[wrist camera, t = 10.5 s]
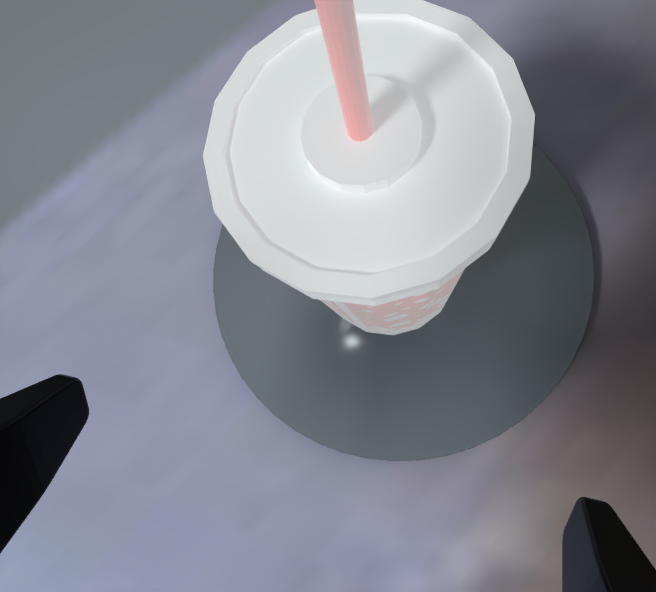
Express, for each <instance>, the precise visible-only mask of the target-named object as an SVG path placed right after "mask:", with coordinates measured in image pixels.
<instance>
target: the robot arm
mask: <svg viewBox="0 0 656 592" xmlns="http://www.w3.org/2000/svg"><path fill="white" fill-rule="evenodd" d="M88 415H89V407H88V403H87V399H86V396H85V392H84V388H83V384H82V382H81V381H80V380H79V379H78V378H75V377H71V376H67V375H62V374H59V375H55V376H52V377H50V378H48V379H45V380H43V381H41V382H38V383H36V384H34V385H31V386H29V387H27V388H24V389H22V390H20V391H17V392H15V393H13V394H10V395H8V396H6V397H3V398H1V399H0V553H1V552H2V550H3V549H4V548H5V546H6V545H7V544H8V542H9V541H10V539H11V538H12V537H13V535H14V534H15V533H16V531H17V530H18V528H19V527H20V526H21V524H22V523H23V522H24V520H25V519H26V517H27V516H28V515H29V513H30V512H31V510H32V509H33V508H34V506H35V505H36V504H37V502H38V501H39V499H40V498H41V496H42V495H43V494H44V492H45V491H46V489H47V487H48V486H49V484H50V483H51V481H52V479H53V478H54V476H55V474H56V473H57V471H58V469H59V468H60V466H61V464H62V462H63V461H64V459H65V457H66V456H67V454H68V452H69V451H70V449H71V447H72V446H73V444H74V442H75V440H76V439H77V437H78V435H79V434H80V432H81V430H82V429H83V427H84V425H85V423H86V421H87V419H88ZM562 592H656V570H655V568H654V567H653V565H652V564H651V563H650V561H649V560H648V558H647V557H646V555H645V554H644V553H643V551H642V550H641V548H640V547H639V545H638V544H637V543H636V541H635V540H634V538H633V537H632V536H631V534H630V533H629V531H628V530H627V528H626V527H625V526H624V524H623V523H622V521H621V520H620V518H619V517H618V516H617V514H616V513H615V511H614V510H613V508H612V507H611V506H610V505H609V504H608V503H606V502H603V501H599V500H595V499H591V498H587V497H581V498H579V499H578V500H577V502H576V504H575V506H574V508H573V510H572V513H571V515H570V517H569V519H568V522H567V524H566V526H565V529H564V533H563V542H562Z"/></svg>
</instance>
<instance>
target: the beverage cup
mask: <svg viewBox="0 0 656 592" xmlns="http://www.w3.org/2000/svg"><path fill="white" fill-rule="evenodd" d="M315 5H316V9H314V10H311V11H308V12H305V13H302V14H299V15H296V16H294V17H293V18H291V19H290V20H289V21H287V22H286V23H285V24H283V25H282V26H281V27H279V28H278V29H277V30H275V31H274V32H273V33H272V34H270V35H269V36H268V37H266V38H265V39H264V40H262V41H261V42H260V43H258V44H257V45H256V46H254V47H253V48H252V49H250V50H249V51H248V52H247V53H246V54H245V56H244V57H243V59H242V60H241V62H240V63H239V65H238V66H237V68H236V69H235V71H234V73H233V74H232V76H231V77H230V79H229V80H228V82H227V83H226V85H225V86H224V88H223V89H222V91H221V92H220V94H219V95H218V97H217V98H216V100H215V103H214V107H213V112H212V117H211V121H210V126H209V131H208V135H207V140H206V145H205V149H204V154H203V158H204V163H205V168H206V173H207V178H208V183H209V188H210V193H211V198H212V204H213V209H214V212H215V214H216V215H217V216H218V218H219V219H220V220H221V222H222V223H223V224H224V226H225V227H226V229H227V230H228V231H229V233H230V234H231V235H232V237H233V238H234V240H235V241H236V242H237V244H238V245H239V246H240V248H241V249H242V251H243V252H244V253H245V255H246V256H247V257H248V259H249V260H250V261H251V262H252V263H253V264H255V265H257V266H258V267H260V268H261V269H262V270H263V271H265V272H267V273H268V274H270V275H272V276H274V277H276V278H277V279H279V280H281V281H283V282H284V283H286V284H288V285H290V286H291V287H293V288H295V289H297V290H298V291H300V292H302V293H304V294H305V295H307V296H309V297H311V298H312V299H319V300H321V301H322V302H323V303H324V304H326V305H327V306H328V307H329V308H331V309H332V310H333V311H334V312H336V313H337V314H338V315H339V316H341V317H342V318H343V319H345V320H346V321H348V322H350V323H352V324H353V325H355V326H357V327H359V328H360V329H362V330H364V331H366V332H371V333H379V334H387V335H396V334H400V333H403V332H407V331H411V330H415V329H418V328H420V327H421V326H423V325H424V324H425V323H427V322H428V321H429V320H431V319H432V318H433V317H435V316H436V315H437V314H438V313H440V312H441V310H442V308H443V307H444V305H445V303H446V301H447V300H448V298H449V296H450V294H451V293H452V291H453V289H454V287H455V286H456V284H457V282H458V280H459V278H460V277H461V275H462V273H463V271H464V269H465V268H466V267H467V266H469V265H470V264H471V263H472V262H474V261H475V260H476V259H478V258H479V257H480V256H482V255H483V254H484V253H486V252H487V251H488V250H489V249H490V248H491V246H492V244H493V242H494V241H495V240H496V238H497V236H498V234H499V233H500V231H501V229H502V227H503V226H504V224H505V222H506V220H507V219H508V217H509V215H510V213H511V211H512V210H513V208H514V206H515V204H516V203H517V201H518V199H519V197H520V196H521V194H522V192H523V190H524V189H525V187H526V185H527V183H528V181H529V179H530V172H531V159H532V147H533V134H534V122H535V113H534V111H533V108H532V105H531V103H530V100H529V98H528V95H527V93H526V90H525V88H524V85H523V83H522V80H521V78H520V75H519V73H518V70H517V67H516V65H515V62H514V60H513V58H512V57H511V56H510V55H509V54H508V53H507V52H505V51H504V50H503V49H502V48H501V47H500V46H499V45H498V44H497V43H496V42H495V41H494V40H493V39H492V38H491V37H490V36H488V35H487V34H486V33H485V32H484V31H483V30H482V29H481V28H480V27H479V26H478V25H477V24H476V23H475V22H474V21H473V20H471V19H470V18H469V17H466V16H463V15H461V14H458V13H455V12H453V11H450V10H447V9H445V8H442V7H439V6H437V5H434V4H431V3H429V2H426V1H423V0H315Z"/></svg>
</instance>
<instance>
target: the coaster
mask: <svg viewBox="0 0 656 592" xmlns="http://www.w3.org/2000/svg"><path fill="white" fill-rule="evenodd" d="M593 290H594V259H593V253H592V247H591V241H590V235H589V232H588V229H587V226H586V223H585V219H584V216H583V213H582V211H581V208H580V206H579V204H578V202H577V200H576V198H575V196H574V194H573V192H572V190H571V188H570V187H569V185H568V184H567V182H566V181H565V179H564V178H563V176H562V175H561V173H560V172H559V170H558V169H557V168H556V167H555V165H554V164H553V163H552V162H551V161H550V160H549V159H548V157H547V156H546V155H545V154H544V153H543V152H542V151H541V150H540V149H539V148H538V147H537V146H535V145H534V144H533V147H532V159H531V172H530V179H529V181H528V183H527V185H526V187H525V189H524V190H523V192H522V194H521V196H520V197H519V199H518V201H517V203H516V204H515V206H514V208H513V210H512V211H511V213H510V215H509V217H508V219H507V220H506V222H505V224H504V226H503V227H502V229H501V231H500V233H499V234H498V236H497V238H496V240H495V241H494V242H493V244H492V246H491V248H490V249H489V250H488V251H487V252H486V253H484V254H483V255H482V256H480V257H479V258H478V259H476V260H475V261H474V262H472V263H471V264H470V265H469V266H467V267H466V268H465V269H464V271H463V273H462V275H461V277H460V278H459V280H458V282H457V284H456V286H455V287H454V289H453V291H452V293H451V294H450V296H449V298H448V300H447V301H446V303H445V305H444V307H443V308H442V310H441V312H440V313H438V314H437V315H436V316H435V317H433V318H432V319H431V320H429V321H428V322H427V323H425V324H424V325H423V326H421V327H420V328H418V329H415V330H411V331H407V332H403V333H400V334H396V335H387V334H379V333H371V332H366V331H364V330H362V329H360V328H359V327H357V326H355V325H353V324H352V323H350V322H348V321H346V320H345V319H343V318H342V317H341V316H339V315H338V314H337V313H336V312H334V311H333V310H332V309H331V308H329V307H328V306H327V305H326V304H324V303H323V302H322V301H321V300H319V299H312V298H311V297H309V296H307V295H305V294H304V293H302V292H300V291H298V290H297V289H295V288H293V287H291V286H290V285H288V284H286V283H284V282H283V281H281V280H279V279H277V278H276V277H274V276H272V275H270V274H268V273H267V272H265V271H263V270H262V269H261V268H260V267H258V266H257V265H255V264H253V263H252V262H251V261H250V260H249V259H248V257H247V256H246V255H245V253H244V252H243V251H242V249H241V248H240V246H239V245H238V244H237V242H236V241H235V240H234V238H233V237H232V235H231V234H230V233H229V231H228V230H227V229H226V227H225V226H224V224H223V225H222V229H221V233H220V236H219V240H218V244H217V248H216V255H215V263H214V283H213V292H214V300H215V309H216V315H217V319H218V323H219V327H220V331H221V335H222V338H223V340H224V343H225V345H226V348H227V350H228V353H229V355H230V357H231V359H232V361H233V363H234V365H235V366H236V368H237V370H238V372H239V373H240V375H241V377H242V379H243V380H244V381H245V383H246V384H247V385H248V386H249V388H250V389H251V390H252V392H253V393H254V394H255V396H256V397H257V398H258V399H259V400H260V401H261V402H262V403H263V404H264V405H265V406H266V407H267V408H268V409H269V410H270V411H271V412H272V413H273V414H274V415H275V416H277V417H278V418H279V419H281V420H282V421H283V422H285V423H286V424H287V425H289V426H290V427H291V428H293V429H294V430H295V431H297V432H299V433H301V434H303V435H304V436H306V437H308V438H310V439H312V440H313V441H315V442H317V443H319V444H322V445H325V446H327V447H330V448H332V449H335V450H337V451H340V452H343V453H347V454H351V455H355V456H360V457H364V458H369V459H379V460H388V461H411V460H425V459H430V458H436V457H442V456H448V455H451V454H454V453H457V452H460V451H464V450H467V449H470V448H473V447H475V446H478V445H480V444H482V443H484V442H486V441H488V440H490V439H492V438H494V437H496V436H499V435H500V434H502V433H503V432H505V431H506V430H508V429H509V428H511V427H512V426H514V425H515V424H517V423H518V422H520V421H521V420H522V419H524V418H525V417H526V416H527V415H528V414H529V413H530V412H531V411H533V410H534V409H535V408H536V407H537V406H538V405H539V404H541V403H542V401H543V400H544V399H545V398H546V397H547V396H548V394H549V393H550V392H551V391H552V390H553V389H554V387H555V386H556V385H557V384H558V383H559V381H560V380H561V378H562V377H563V375H564V373H565V372H566V370H567V369H568V367H569V365H570V364H571V362H572V361H573V359H574V357H575V354H576V352H577V350H578V348H579V345H580V343H581V341H582V339H583V336H584V333H585V330H586V326H587V323H588V319H589V315H590V312H591V305H592V298H593Z"/></svg>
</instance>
